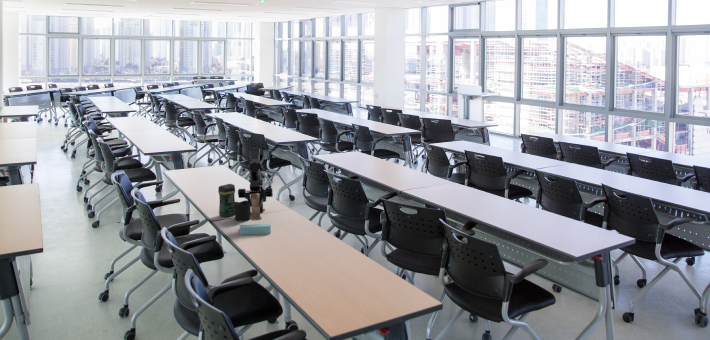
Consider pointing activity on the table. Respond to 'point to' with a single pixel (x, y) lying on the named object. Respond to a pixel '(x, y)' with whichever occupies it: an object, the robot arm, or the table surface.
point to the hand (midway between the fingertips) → (255, 206)
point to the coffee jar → (226, 200)
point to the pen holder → (242, 211)
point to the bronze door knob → (255, 207)
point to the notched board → (255, 229)
